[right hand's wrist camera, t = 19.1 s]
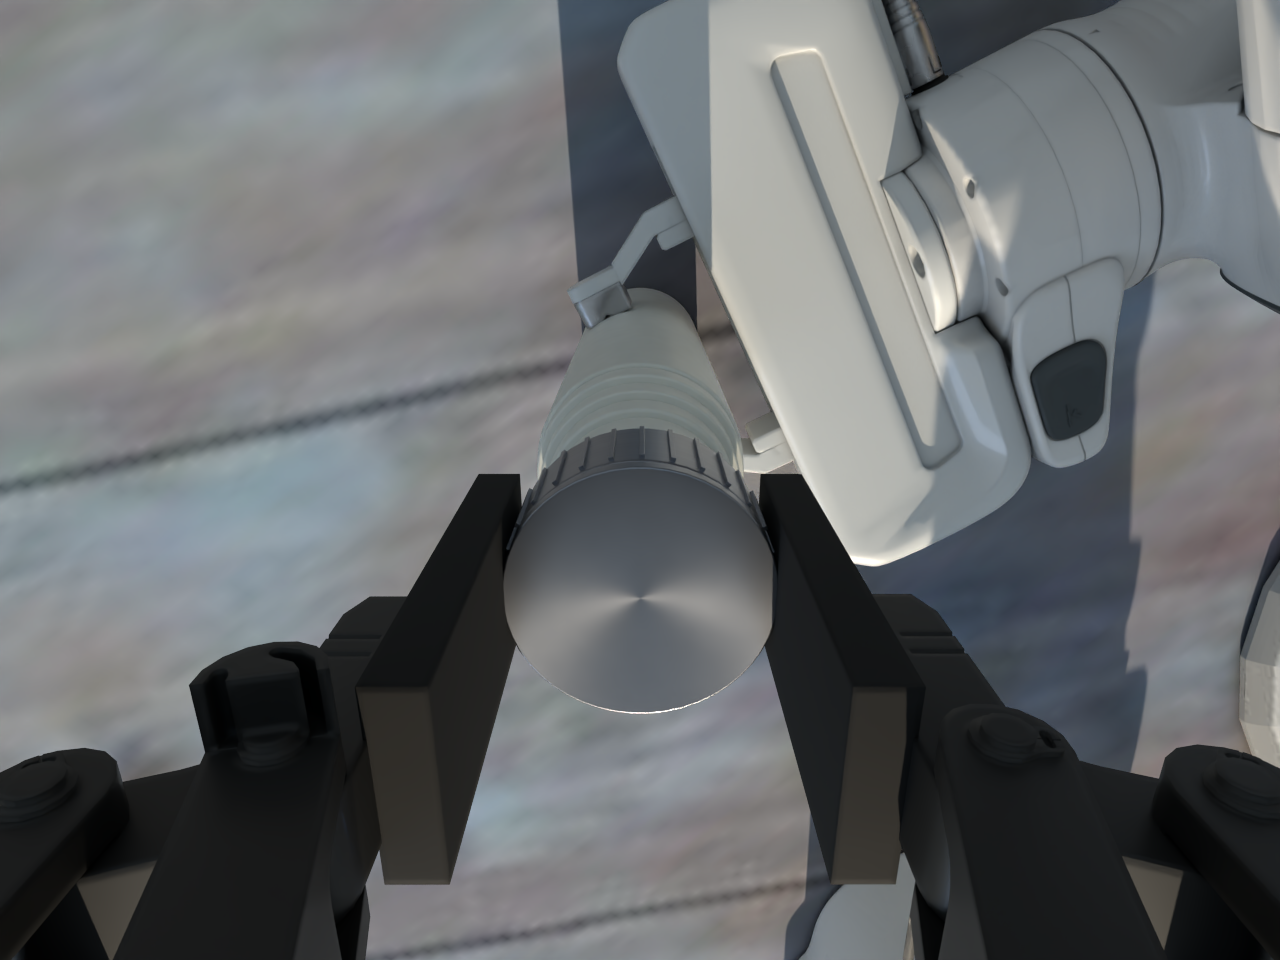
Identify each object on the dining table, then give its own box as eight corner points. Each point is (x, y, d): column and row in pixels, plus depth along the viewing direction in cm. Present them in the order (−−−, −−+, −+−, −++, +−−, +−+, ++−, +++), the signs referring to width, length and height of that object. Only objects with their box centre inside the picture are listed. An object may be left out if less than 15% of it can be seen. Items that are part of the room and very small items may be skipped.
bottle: (688, 277, 32) (771, 415, 12) (705, 391, 34) (803, 683, 14) (572, 298, 33) (457, 468, 12) (595, 410, 35) (529, 724, 14)
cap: (515, 641, 15) (497, 709, 13) (518, 415, 14) (497, 453, 12) (748, 654, 15) (764, 724, 13) (778, 432, 14) (801, 472, 12)
